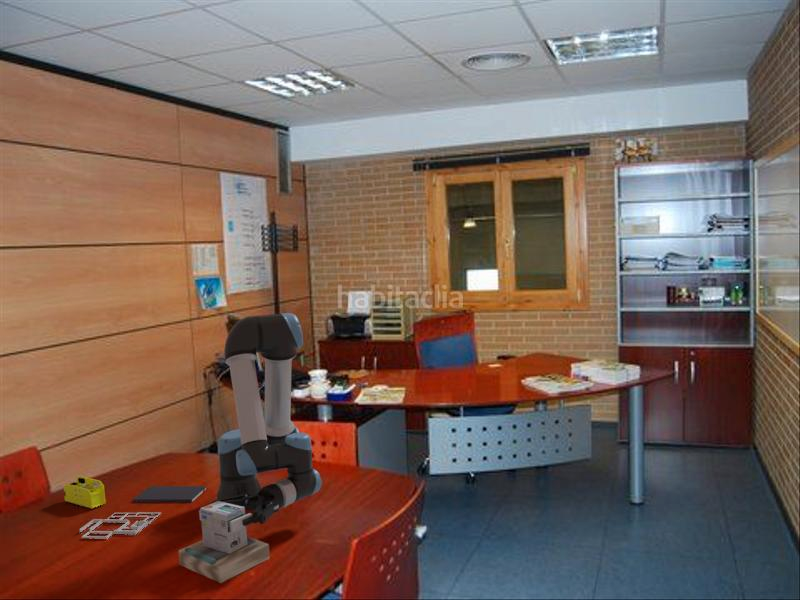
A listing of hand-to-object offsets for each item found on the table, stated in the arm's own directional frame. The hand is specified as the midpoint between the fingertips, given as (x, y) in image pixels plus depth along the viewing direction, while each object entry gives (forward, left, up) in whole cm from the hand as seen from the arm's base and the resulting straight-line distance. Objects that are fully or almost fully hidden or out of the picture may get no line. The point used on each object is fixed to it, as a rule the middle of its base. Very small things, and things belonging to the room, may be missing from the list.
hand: (215, 521), depth 180 cm
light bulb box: (0, +3, -8) cm, 8 cm away
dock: (0, +2, -12) cm, 12 cm away
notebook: (-58, +23, -13) cm, 64 cm away
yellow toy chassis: (-77, +2, -12) cm, 78 cm away
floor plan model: (-47, -4, -13) cm, 49 cm away
